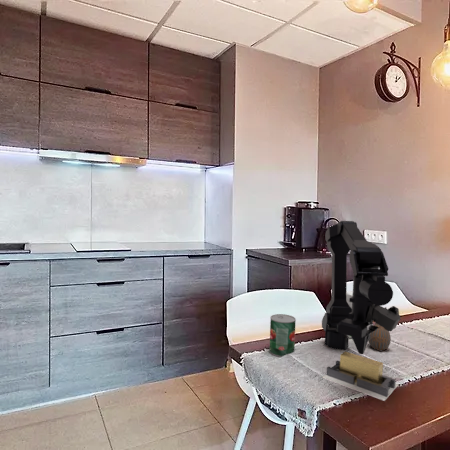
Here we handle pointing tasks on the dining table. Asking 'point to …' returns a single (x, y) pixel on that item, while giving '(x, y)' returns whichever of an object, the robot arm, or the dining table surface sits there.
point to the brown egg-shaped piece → (380, 338)
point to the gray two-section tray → (362, 380)
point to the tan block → (361, 367)
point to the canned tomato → (282, 334)
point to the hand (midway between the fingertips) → (361, 353)
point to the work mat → (360, 388)
